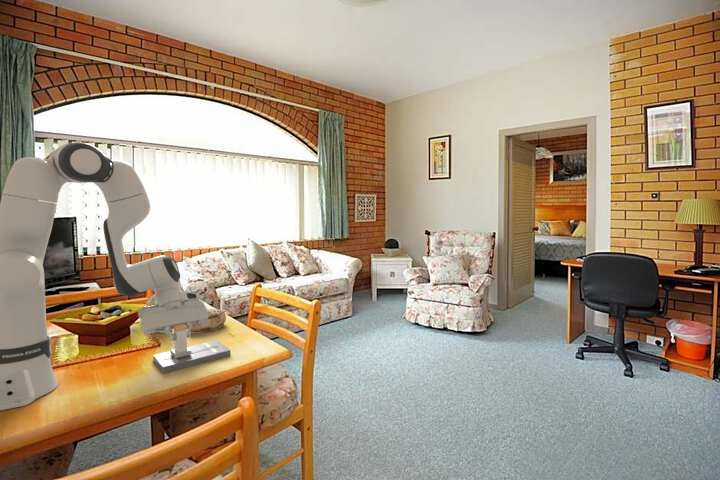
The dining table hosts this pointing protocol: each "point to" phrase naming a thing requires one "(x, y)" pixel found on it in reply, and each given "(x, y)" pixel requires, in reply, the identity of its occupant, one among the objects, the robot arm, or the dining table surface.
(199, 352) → the fader console
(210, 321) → the trinket box
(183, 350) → the fader knob
